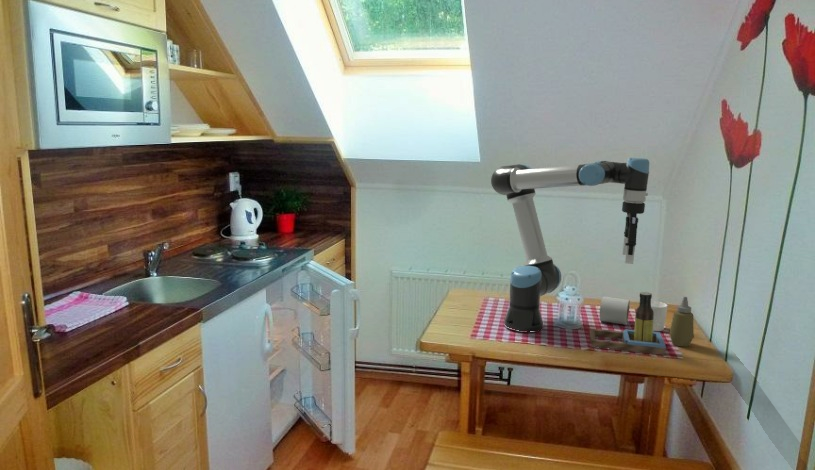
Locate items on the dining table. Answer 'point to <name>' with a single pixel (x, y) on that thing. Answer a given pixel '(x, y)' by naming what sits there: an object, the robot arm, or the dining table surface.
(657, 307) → the white cup
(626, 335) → the caddy
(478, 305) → the dining table surface
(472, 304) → the dining table surface
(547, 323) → the dining table surface
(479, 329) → the dining table surface
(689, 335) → the squeeze bottle
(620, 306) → the toilet paper
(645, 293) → the sauce bottle
